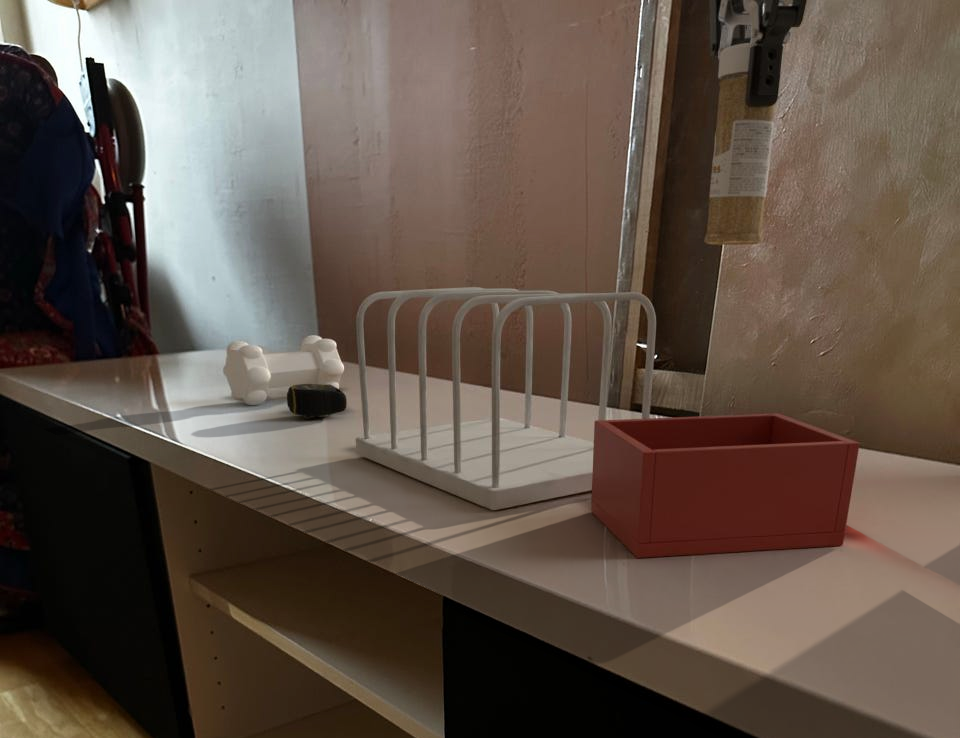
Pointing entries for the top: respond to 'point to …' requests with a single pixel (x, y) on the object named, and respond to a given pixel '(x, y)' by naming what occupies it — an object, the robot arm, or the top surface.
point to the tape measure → (315, 400)
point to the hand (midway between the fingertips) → (746, 110)
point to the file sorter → (492, 442)
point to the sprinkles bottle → (738, 156)
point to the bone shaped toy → (280, 368)
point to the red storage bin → (721, 483)
